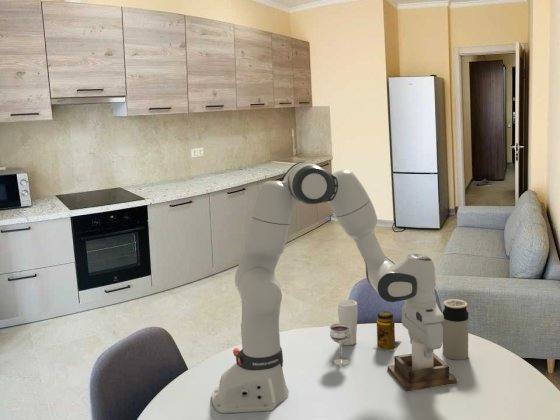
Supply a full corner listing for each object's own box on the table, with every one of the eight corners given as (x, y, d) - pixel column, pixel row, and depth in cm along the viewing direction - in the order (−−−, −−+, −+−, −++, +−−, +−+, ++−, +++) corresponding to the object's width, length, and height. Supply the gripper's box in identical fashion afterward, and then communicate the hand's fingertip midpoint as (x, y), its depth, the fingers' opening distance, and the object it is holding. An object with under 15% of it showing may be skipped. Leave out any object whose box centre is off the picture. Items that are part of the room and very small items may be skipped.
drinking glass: (357, 347, 187) (356, 306, 184) (338, 346, 188) (336, 306, 186) (358, 339, 193) (357, 299, 191) (340, 338, 195) (338, 299, 192)
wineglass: (355, 363, 175) (354, 328, 173) (337, 368, 173) (335, 333, 171) (345, 355, 181) (344, 321, 179) (327, 359, 179) (325, 325, 177)
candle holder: (406, 391, 156) (406, 375, 155) (387, 370, 170) (387, 355, 169) (457, 383, 159) (457, 367, 158) (434, 362, 173) (434, 348, 172)
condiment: (373, 348, 185) (372, 315, 183) (380, 339, 193) (379, 307, 191) (394, 352, 182) (393, 318, 180) (400, 342, 189) (400, 309, 187)
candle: (433, 367, 166) (433, 321, 164) (433, 377, 160) (433, 330, 158) (412, 366, 168) (411, 320, 165) (411, 376, 162) (411, 329, 159)
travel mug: (470, 360, 173) (470, 307, 170) (444, 360, 174) (444, 307, 171) (465, 349, 180) (466, 298, 177) (441, 349, 182) (441, 298, 179)
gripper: (396, 297, 170) (397, 338, 172) (426, 321, 150) (426, 367, 153) (414, 295, 171) (415, 336, 173) (447, 318, 151) (447, 363, 154)
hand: (420, 350), depth 163 cm, fingers open, 8 cm apart
